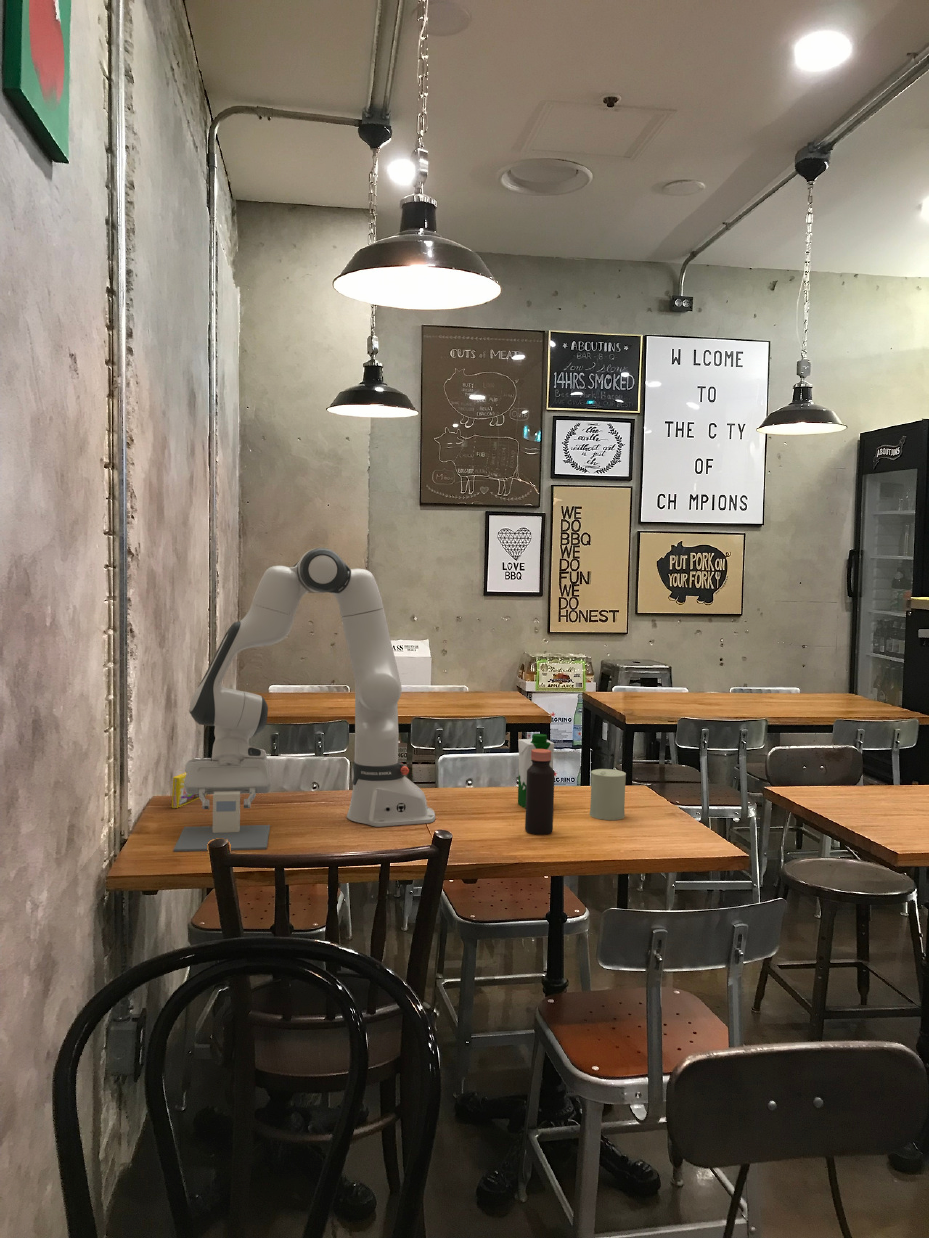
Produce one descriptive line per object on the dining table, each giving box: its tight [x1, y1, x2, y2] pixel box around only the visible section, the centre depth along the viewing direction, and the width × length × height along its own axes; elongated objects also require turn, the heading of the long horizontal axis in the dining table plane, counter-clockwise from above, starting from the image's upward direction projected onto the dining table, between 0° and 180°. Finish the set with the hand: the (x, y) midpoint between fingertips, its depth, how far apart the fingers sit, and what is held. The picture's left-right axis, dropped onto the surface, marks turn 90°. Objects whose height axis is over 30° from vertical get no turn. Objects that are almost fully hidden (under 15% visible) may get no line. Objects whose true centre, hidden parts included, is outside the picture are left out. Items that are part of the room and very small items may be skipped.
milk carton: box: [517, 733, 555, 810], centre depth 244 cm, size 9×9×20 cm
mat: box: [172, 824, 271, 853], centre depth 207 cm, size 20×18×1 cm
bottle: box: [524, 749, 556, 836], centre depth 219 cm, size 7×7×20 cm
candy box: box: [171, 772, 208, 809], centre depth 240 cm, size 16×2×8 cm, turn 168°
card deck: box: [212, 791, 241, 833], centre depth 212 cm, size 6×3×9 cm, turn 100°
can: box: [589, 768, 627, 821], centre depth 236 cm, size 9×9×12 cm
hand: (226, 807), depth 211 cm, fingers open, 8 cm apart
